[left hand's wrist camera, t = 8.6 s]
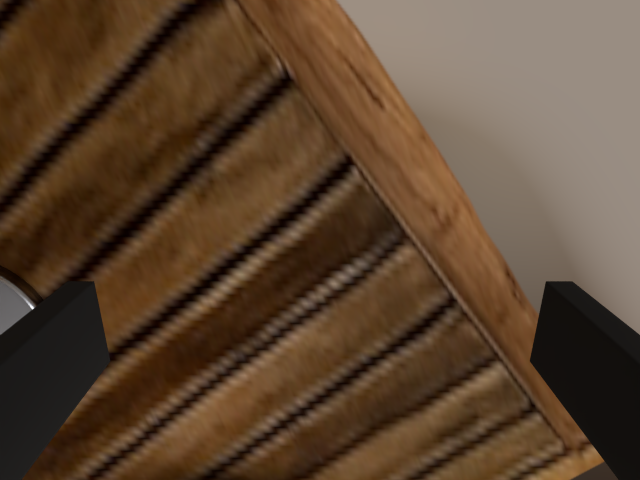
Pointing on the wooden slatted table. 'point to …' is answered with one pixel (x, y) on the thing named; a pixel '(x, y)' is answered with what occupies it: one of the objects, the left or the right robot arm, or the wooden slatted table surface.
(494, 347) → the wooden slatted table surface
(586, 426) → the left robot arm
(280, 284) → the wooden slatted table surface
